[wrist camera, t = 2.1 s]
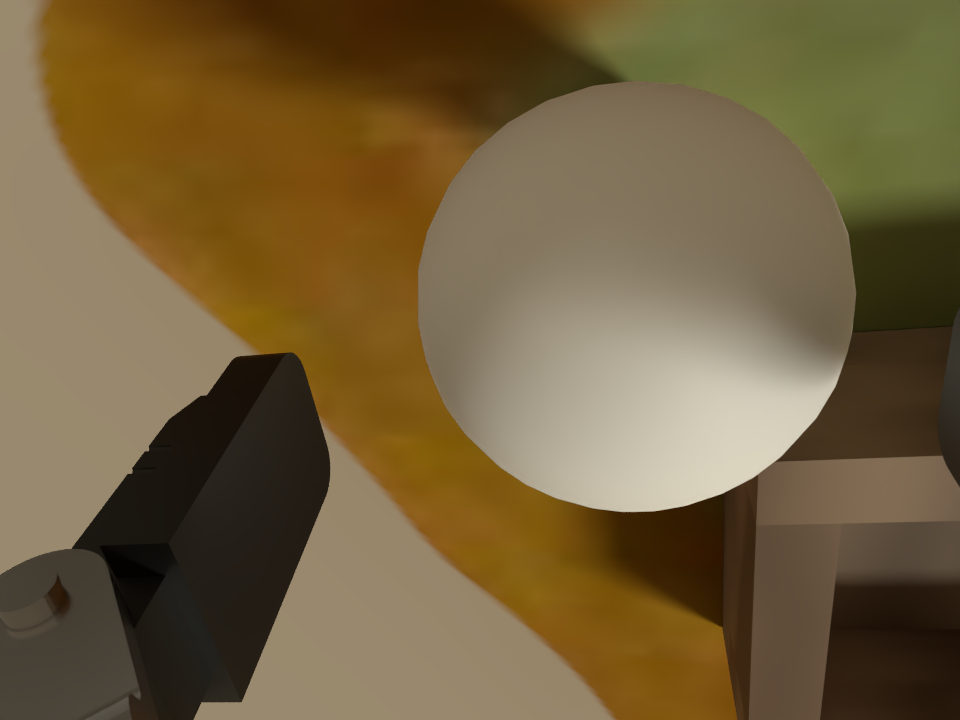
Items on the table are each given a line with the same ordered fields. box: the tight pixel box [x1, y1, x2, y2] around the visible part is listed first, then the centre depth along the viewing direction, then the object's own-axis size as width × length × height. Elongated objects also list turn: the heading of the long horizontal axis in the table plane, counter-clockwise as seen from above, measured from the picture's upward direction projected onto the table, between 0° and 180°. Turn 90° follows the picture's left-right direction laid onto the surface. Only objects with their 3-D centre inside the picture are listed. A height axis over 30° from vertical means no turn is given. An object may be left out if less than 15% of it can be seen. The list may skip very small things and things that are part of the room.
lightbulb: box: [418, 81, 856, 512], centre depth 14 cm, size 6×6×11 cm
